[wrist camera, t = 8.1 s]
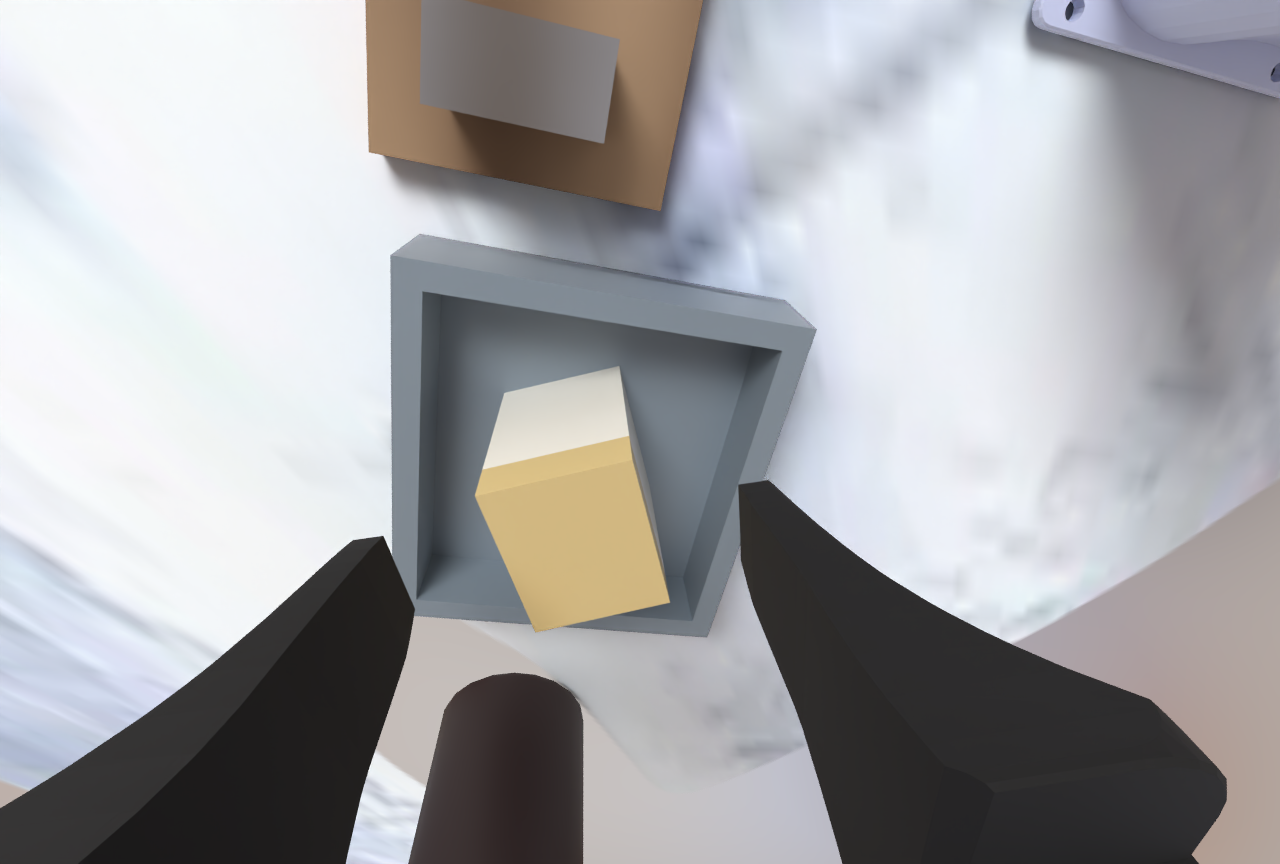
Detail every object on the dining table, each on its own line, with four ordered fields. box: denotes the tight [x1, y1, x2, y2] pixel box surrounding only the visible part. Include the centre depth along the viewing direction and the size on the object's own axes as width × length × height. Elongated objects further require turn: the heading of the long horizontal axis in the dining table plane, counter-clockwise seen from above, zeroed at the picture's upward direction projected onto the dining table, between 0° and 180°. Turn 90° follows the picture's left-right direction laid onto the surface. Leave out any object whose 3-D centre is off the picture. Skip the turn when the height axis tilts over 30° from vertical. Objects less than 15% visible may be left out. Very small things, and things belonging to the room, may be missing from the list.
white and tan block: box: [475, 366, 670, 632], centre depth 18 cm, size 4×5×6 cm
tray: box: [391, 234, 817, 637], centre depth 20 cm, size 12×13×3 cm
